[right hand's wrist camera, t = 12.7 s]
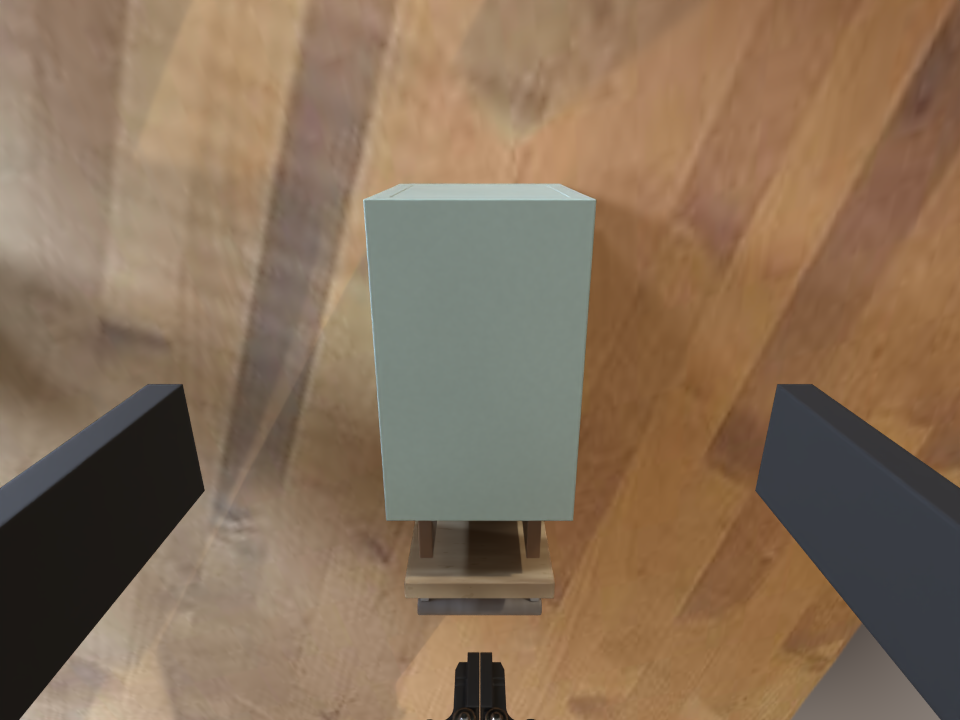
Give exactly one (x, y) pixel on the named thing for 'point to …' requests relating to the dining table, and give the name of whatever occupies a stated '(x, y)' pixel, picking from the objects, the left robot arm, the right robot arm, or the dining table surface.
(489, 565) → the drawer
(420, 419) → the cabinet
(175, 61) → the dining table surface
